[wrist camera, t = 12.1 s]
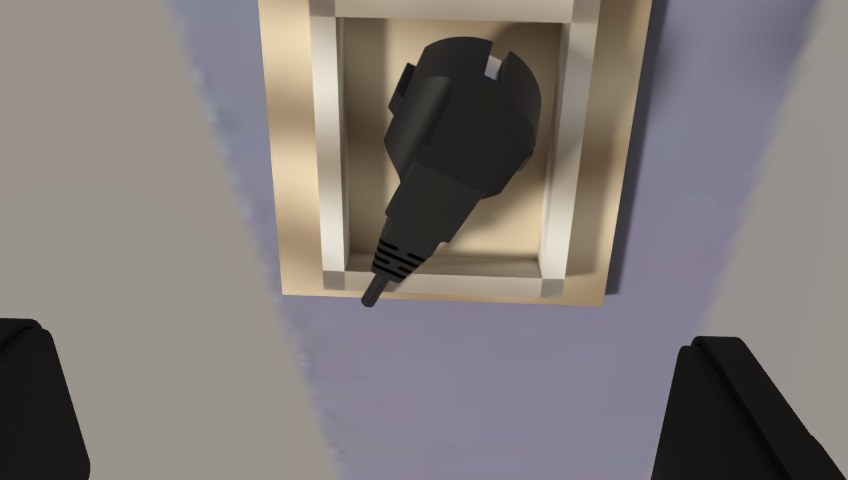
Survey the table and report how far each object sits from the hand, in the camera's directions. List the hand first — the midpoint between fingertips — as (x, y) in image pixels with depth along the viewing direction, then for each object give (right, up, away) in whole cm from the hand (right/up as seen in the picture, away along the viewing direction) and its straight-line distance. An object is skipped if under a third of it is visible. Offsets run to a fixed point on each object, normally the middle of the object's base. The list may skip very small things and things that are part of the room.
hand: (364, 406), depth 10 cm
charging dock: (+2, +7, +20) cm, 21 cm away
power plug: (+1, +5, +18) cm, 19 cm away
